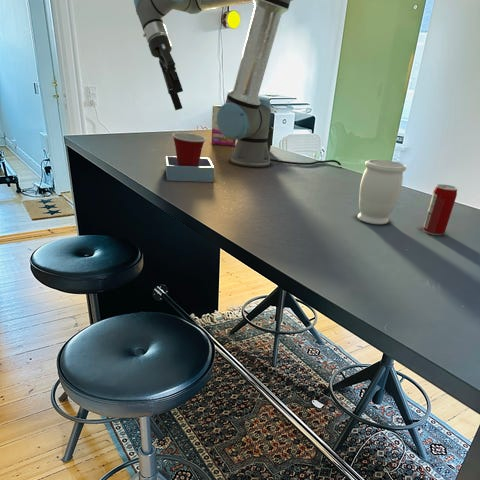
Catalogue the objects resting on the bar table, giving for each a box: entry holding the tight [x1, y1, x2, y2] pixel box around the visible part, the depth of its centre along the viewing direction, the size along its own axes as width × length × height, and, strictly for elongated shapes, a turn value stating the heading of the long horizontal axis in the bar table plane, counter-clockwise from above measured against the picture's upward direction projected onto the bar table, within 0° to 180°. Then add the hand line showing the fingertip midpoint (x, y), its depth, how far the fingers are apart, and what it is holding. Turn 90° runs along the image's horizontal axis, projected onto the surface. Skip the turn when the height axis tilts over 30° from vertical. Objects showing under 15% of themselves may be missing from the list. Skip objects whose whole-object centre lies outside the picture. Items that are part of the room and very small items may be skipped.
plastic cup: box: [172, 131, 207, 167], centre depth 145 cm, size 11×11×12 cm
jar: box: [357, 159, 407, 225], centre depth 117 cm, size 11×10×15 cm
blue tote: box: [165, 155, 215, 183], centre depth 148 cm, size 15×15×5 cm
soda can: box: [422, 183, 458, 236], centre depth 113 cm, size 6×6×12 cm
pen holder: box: [267, 126, 274, 152], centre depth 197 cm, size 9×9×10 cm
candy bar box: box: [211, 104, 237, 147], centre depth 203 cm, size 11×5×16 cm, turn 81°
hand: (179, 101), depth 156 cm, fingers open, 13 cm apart
